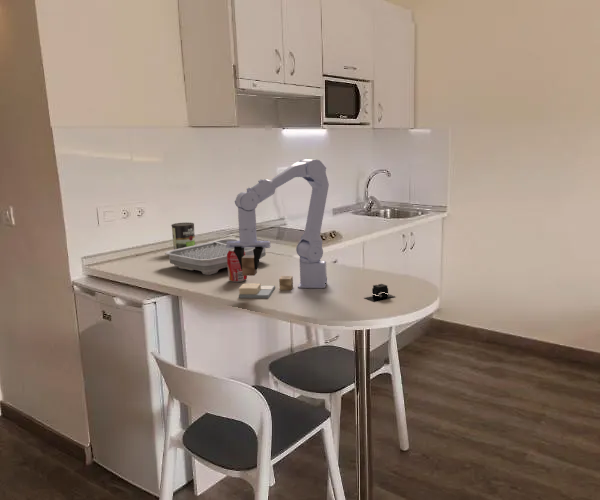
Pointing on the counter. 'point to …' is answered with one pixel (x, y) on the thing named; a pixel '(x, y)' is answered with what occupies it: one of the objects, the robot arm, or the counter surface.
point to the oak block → (286, 282)
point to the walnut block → (248, 265)
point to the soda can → (234, 267)
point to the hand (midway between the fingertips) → (249, 268)
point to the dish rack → (205, 256)
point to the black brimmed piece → (382, 296)
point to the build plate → (260, 295)
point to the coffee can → (183, 235)
